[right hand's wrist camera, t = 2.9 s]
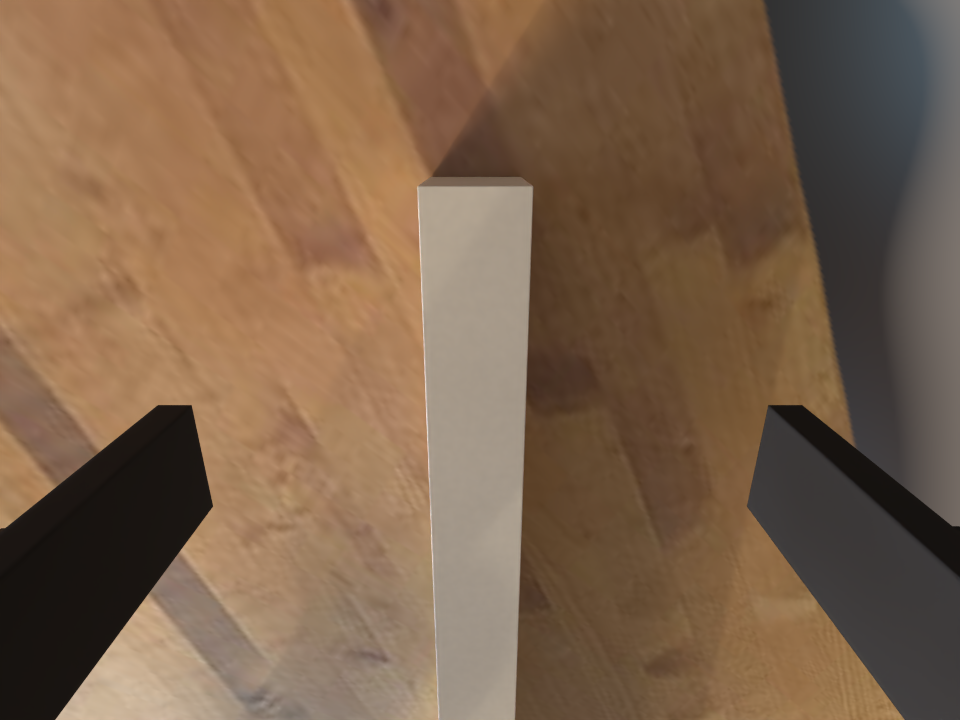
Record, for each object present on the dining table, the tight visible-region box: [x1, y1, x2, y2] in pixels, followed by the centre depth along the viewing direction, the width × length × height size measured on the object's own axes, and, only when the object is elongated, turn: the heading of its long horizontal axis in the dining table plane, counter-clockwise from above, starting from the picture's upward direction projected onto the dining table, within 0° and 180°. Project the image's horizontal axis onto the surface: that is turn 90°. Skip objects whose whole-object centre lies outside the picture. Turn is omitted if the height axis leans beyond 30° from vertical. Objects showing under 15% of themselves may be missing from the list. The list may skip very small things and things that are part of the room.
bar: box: [417, 177, 533, 720], centre depth 43 cm, size 73×6×8 cm, turn 0°
